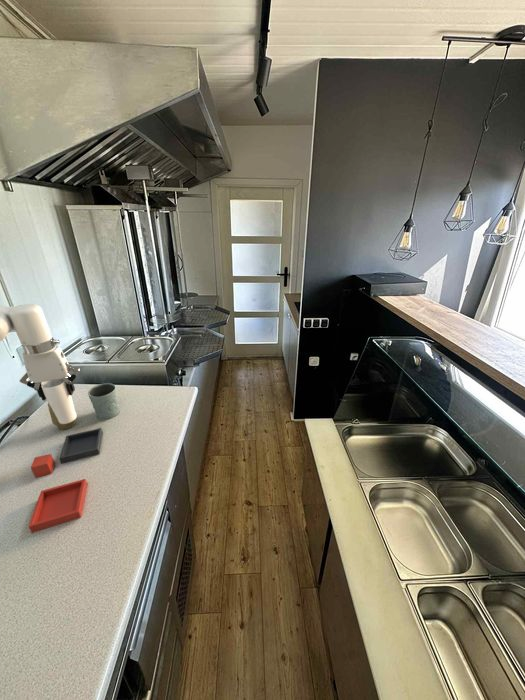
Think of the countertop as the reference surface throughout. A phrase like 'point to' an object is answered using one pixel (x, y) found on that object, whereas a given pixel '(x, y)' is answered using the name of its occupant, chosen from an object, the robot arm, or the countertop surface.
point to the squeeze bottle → (56, 423)
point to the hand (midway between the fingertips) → (58, 395)
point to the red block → (42, 465)
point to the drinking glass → (59, 400)
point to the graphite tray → (81, 445)
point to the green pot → (104, 400)
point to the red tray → (58, 505)
